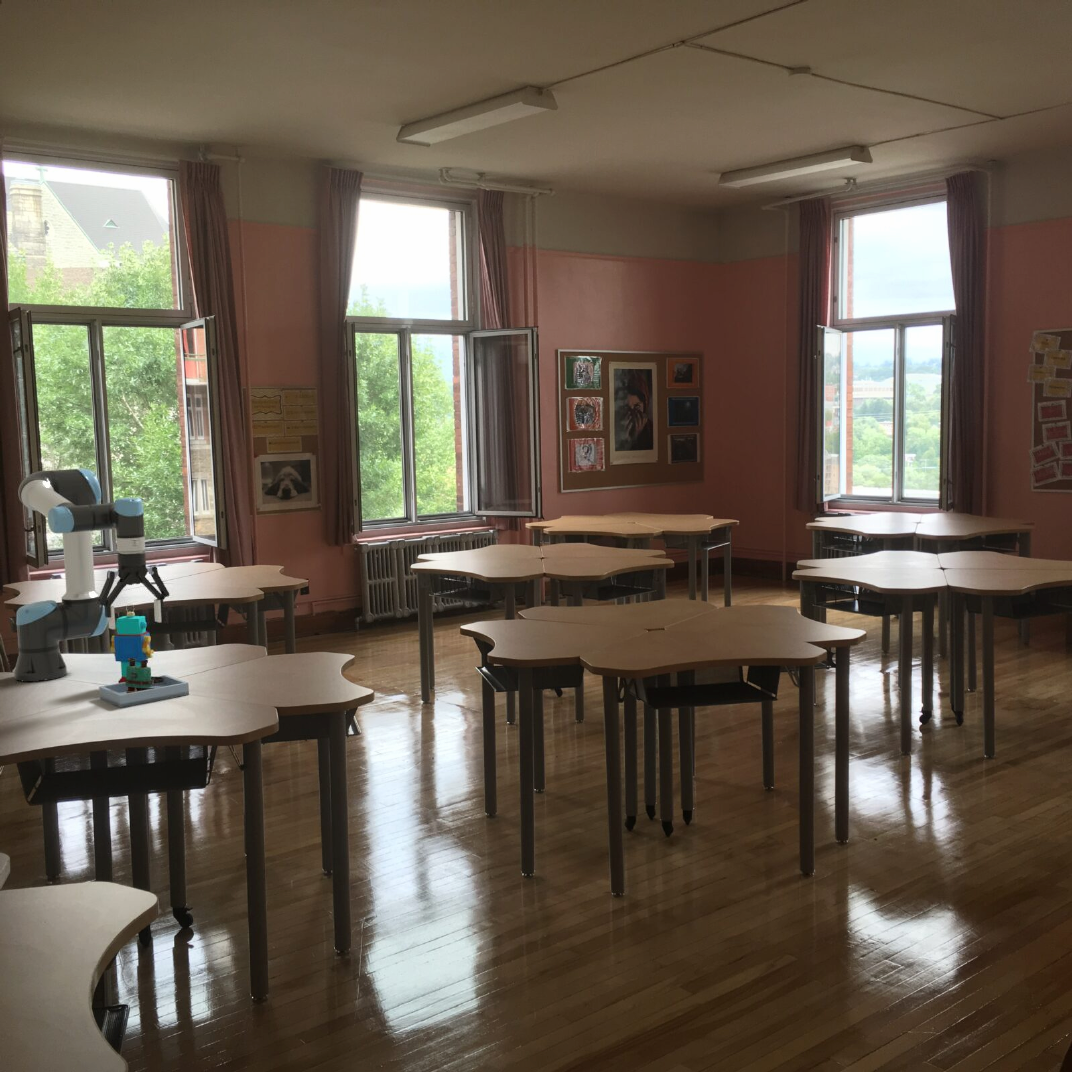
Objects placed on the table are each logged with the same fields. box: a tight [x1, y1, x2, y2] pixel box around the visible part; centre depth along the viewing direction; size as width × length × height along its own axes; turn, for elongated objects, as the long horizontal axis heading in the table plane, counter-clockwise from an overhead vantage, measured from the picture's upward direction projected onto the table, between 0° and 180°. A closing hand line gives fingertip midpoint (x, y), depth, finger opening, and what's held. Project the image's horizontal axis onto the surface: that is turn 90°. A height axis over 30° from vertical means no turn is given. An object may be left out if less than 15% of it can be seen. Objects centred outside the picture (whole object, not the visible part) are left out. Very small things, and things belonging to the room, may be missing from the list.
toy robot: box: [110, 603, 155, 683], centre depth 327 cm, size 12×6×25 cm, turn 84°
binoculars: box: [125, 658, 164, 694], centre depth 314 cm, size 9×11×10 cm
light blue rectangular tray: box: [98, 674, 190, 709], centre depth 314 cm, size 15×20×4 cm
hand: (135, 625), depth 312 cm, fingers open, 13 cm apart
